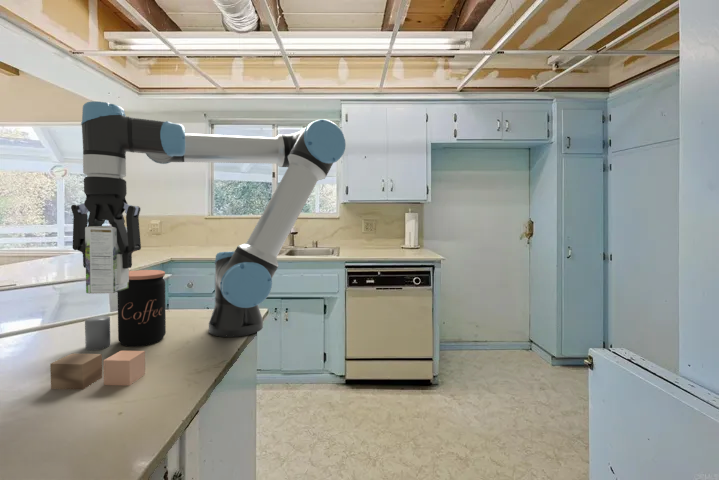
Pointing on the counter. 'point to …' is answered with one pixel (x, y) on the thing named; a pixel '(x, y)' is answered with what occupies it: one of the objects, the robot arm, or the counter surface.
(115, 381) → the terracotta block
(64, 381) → the walnut block
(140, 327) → the coffee jar
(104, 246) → the syrup box
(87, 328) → the grey cylinder
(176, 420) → the counter surface
